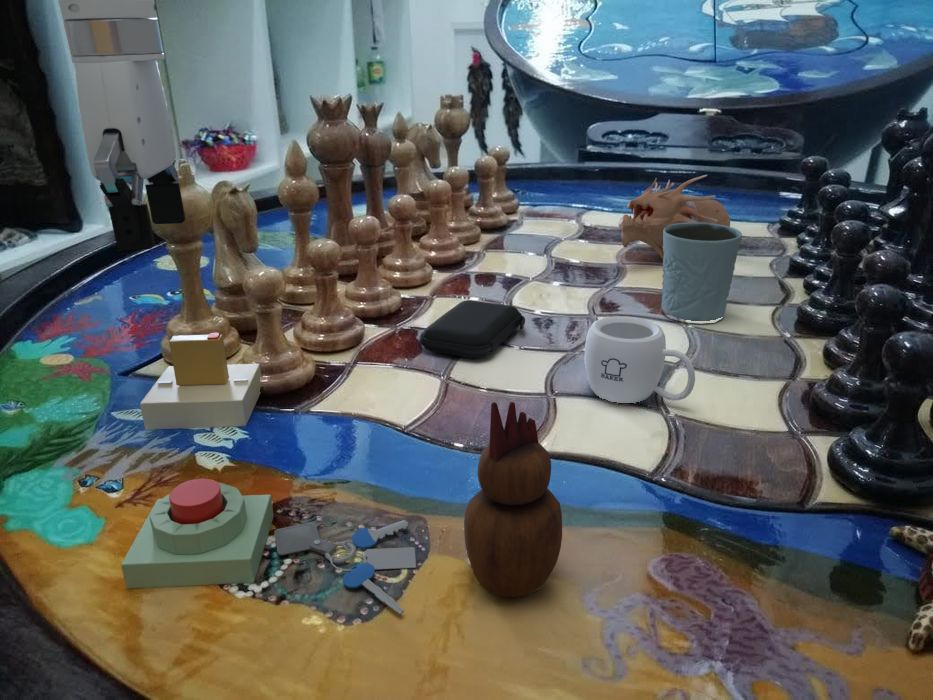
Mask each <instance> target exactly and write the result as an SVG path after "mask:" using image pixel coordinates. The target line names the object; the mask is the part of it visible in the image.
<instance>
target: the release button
mask: <svg viewBox="0 0 933 700" xmlns="http://www.w3.org/2000/svg"><path fill="white" fill-rule="evenodd" d="M218 483H219V482H217V481H216V480H213V479H211V478H195V479H190V480H187V481H184V482H182V483H180V484H178V485H176V486H175V487H174V488H172V490H171V491H170V493H169V494H170V495H169V501H170V506H171V511H172V516H173V519H174V521H175V522H176V523H179V524H198V523H201V522H204V521H207V520H210V519H213V518H214V517H216V516H217V515H219V514H220V513H221V512H222V511H223V500H222V494H221V488H220V485H219V484H218Z"/></svg>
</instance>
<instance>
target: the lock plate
mask: <svg viewBox="0 0 933 700" xmlns="http://www.w3.org/2000/svg"><path fill="white" fill-rule="evenodd" d="M227 367H228V374H229V378H228V380H227V382H226V384H210V385H178V386H177V384H176V378H175V373H174V367H173V365H168V366H167V367H166V368H165V369H164V371H163V373H161V374H160V376H159V378H158V379H157V380H156V382H155V383H154V384H153V385H152V387H151V388H150V390H148V392H147V394H145V396H144V398H143V399H142V400H141V401H140V403H139V407H140V411H141V416H142V421H143V426H144V430H145V431H151V430H180V429H182V430H183V429H208V428H209V429H210V428H235V427H236V428H239V427H240V428H241V427H247V425H248V422H249V420H250V418H251V415H252V414H253V412H254V409H255V407H256V405H257V402H258V400H259V397H260V396H261V393H262V391H261V392H260V377H261V376H262V369H261V364H260V363H235V364H234V363H233V364H227Z"/></svg>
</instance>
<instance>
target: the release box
mask: <svg viewBox="0 0 933 700" xmlns="http://www.w3.org/2000/svg"><path fill="white" fill-rule="evenodd" d="M217 483H218V484H219V485H220V488H221V494H222V500H223V511H222V512H221V513H220V514H219V515H217V516H216V517H214V518H213V519H210V520H207V521H204V522H201V523H198V524H179V523H176V522H175V521H174V519H173V516H172V511H171V506H170V501H169V495H170V493H168V494H167V495H166V496H165V495H164V497H162V498H157V499H156V501H155V503H154V505H153V506H152V508H151V510H150V512H149V513H148V515H147V517H146V519H145V521H144V522H143V524H142V526H141V528H140V530H139V531H138V533H137V535H136V537H135V539H134V541H133V542H132V544H131V545H130V548H129V549H128V551H127V553H126V555H125V557H124V558H123V560H122V562H121V564H120V567H121V571H122V574H123V579H124V584H125V588H126V589H130V590H131V589H146V588H147V589H151V588H152V589H153V588H173V587H174V588H175V587H194V586H195V587H196V586H214V585H215V586H216V585H217V586H218V585H236V584H237V585H238V584H239V585H240V584H254V583H255V581H256V577H257V574H258V570H259V568H260V564H261V561H262V558H263V553H264V551H265V547H266V544H267V541H268V537H269V534H270V530H271V527H272V524H273V521H274V517H275V515H274V509H273V500H272V495H271V494H251V495H250V494H249V495H242V493H241V492H240V490H239V489H238V487H235V486H232V485H229V484H226V483H223V482H217Z"/></svg>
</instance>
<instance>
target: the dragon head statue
mask: <svg viewBox="0 0 933 700" xmlns="http://www.w3.org/2000/svg"><path fill="white" fill-rule="evenodd" d="M707 176H708V174H704V175H701V176H697V177H694V178H691V179H689V180H686V181H684V182H683V183H681V184H680V185H679V186H678V187H676V188H675V189H673V190H670V189H671V188H672V187H674V185H675V182H672V183H671V184H670V182H671V179H668V181H667V183H666V185H665V188H664V189H662V190H661V184H660V185H659V186H658V182H657V180H658V178H657V177H655V179H654V180H653V182H652V183H651V186H648V187H647V188H646V189H645V190H644V191H643V193H642V194H641V195H639V196H637V197H635V198H634V199H631V200H630V201H628V202H627V206H626V209H627V210H628V209H629V210H631V212H632V215H633V217H632V215H628V214H623V216H622V217H621V218H620V219H619V221H618V227H619V229H620V232H621V238H620V239H621V243H622V246H623V248H628V246H629V244H630V243H634V242H636V241H640V242H642V243H644V244H646V245H648V246H650V247H651V248H653V250H654V251H656V252H657V254H658V255H659V256H660V258H661V260H663V256H664V253H663V230H664V228H665V227H667V226H669V225H672V224H678V223H687V222H702V223H713V224H719V225H725V226H729V227H731V219H730V216H729V214H728V211H726V209H725V207H724V205H723V204H722V203H721V202H720V201H718V200H715V198H717V196H716V195H714V194H713V195H704V196H703V195H702V196H701V195H699V196H698V195H692V194H682V193H683V191H684V190H685V188H686V187H687V186H688V185H691V184H692V183H694V182H696V181H699V180H701V179H704V178H706V177H707ZM653 188H654V190H653ZM652 190H653V192H652Z"/></svg>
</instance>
